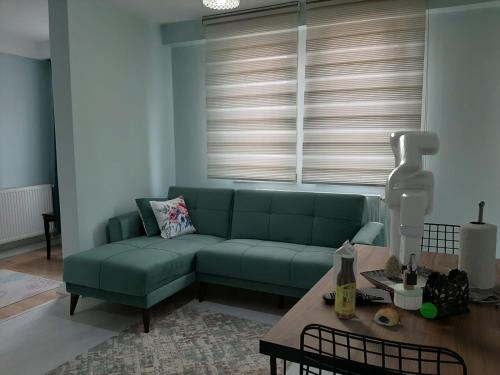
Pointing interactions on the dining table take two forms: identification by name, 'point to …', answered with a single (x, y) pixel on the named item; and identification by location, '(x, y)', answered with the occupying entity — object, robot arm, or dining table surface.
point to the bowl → (407, 302)
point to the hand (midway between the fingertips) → (408, 279)
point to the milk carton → (344, 250)
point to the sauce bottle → (345, 289)
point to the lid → (408, 288)
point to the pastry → (386, 317)
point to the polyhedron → (428, 310)
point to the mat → (377, 294)
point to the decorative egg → (392, 267)
